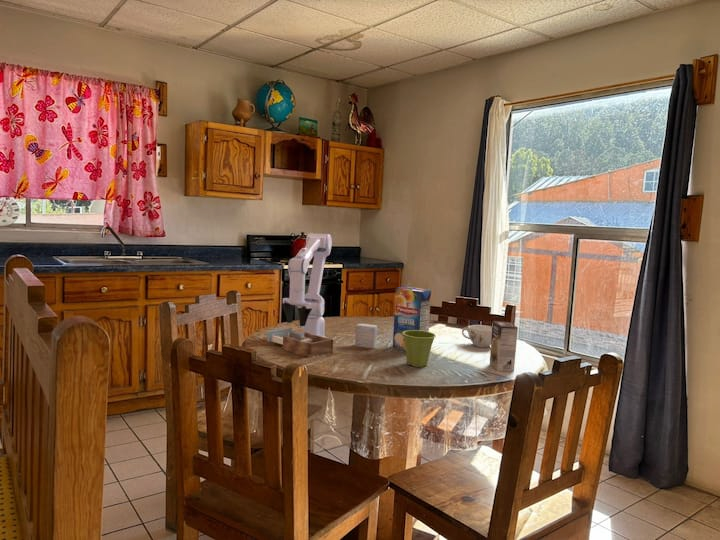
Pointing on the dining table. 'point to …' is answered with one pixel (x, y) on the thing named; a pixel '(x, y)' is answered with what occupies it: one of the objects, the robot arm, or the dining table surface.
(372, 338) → the medicine box
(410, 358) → the plant pot
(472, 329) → the teacup
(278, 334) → the tray
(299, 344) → the shallow wooden crate
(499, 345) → the coffee box
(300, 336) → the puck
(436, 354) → the dining table surface
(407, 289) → the juice carton
